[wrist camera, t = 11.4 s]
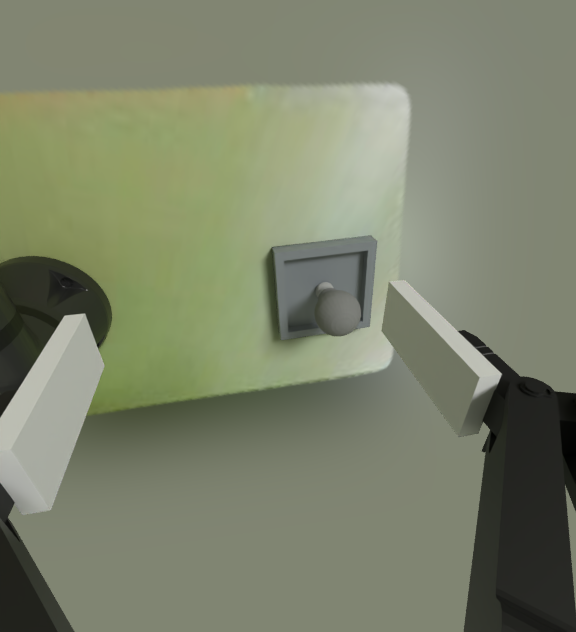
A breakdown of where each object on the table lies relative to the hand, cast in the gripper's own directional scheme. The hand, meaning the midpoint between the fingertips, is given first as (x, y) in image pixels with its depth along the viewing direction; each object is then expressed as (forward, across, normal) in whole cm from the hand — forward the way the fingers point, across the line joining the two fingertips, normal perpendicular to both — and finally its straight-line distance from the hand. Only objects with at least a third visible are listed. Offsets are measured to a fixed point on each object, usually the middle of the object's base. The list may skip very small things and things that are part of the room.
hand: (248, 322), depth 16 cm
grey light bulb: (+31, +13, -16) cm, 37 cm away
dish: (+32, +13, -16) cm, 38 cm away
